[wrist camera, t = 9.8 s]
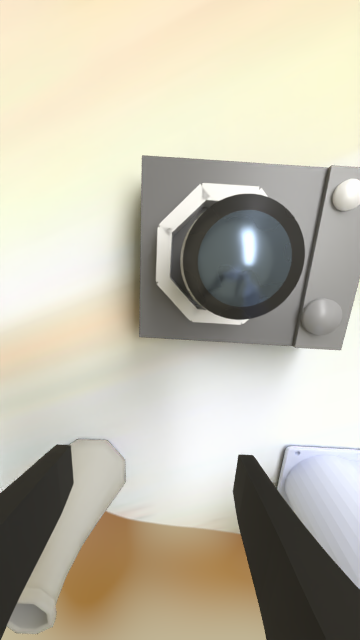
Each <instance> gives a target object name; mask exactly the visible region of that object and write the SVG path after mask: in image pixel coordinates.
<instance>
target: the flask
mask: <svg viewBox="0 0 360 640" xmlns="http://www.w3.org/2000/svg"><path fill="white" fill-rule="evenodd" d="M69 445H71V453H72V466H73V479H74V484H73V487H72V489H71V492H70V494H69V497H68V500H67V502H66V505H65V507H64V510H63V512H62V514H61V516H60V518H59V520H58V522H57V524H56V526H55V528H54V530H53V532H52V534H51V536H50V538H49V540H48V542H47V544H46V546H45V548H44V550H43V552H42V554H41V556H40V558H39V560H38V562H37V564H36V566H35V568H34V570H33V572H32V574H31V576H30V578H29V580H28V582H27V584H26V586H25V588H24V590H23V592H22V594H21V596H20V598H19V600H18V602H17V604H16V606H15V609H14V611H13V613H12V615H11V617H10V619H9V622H8V624H7V627H8V628H10V629H11V630H12V631H14V632H15V633H22V634H38V633H40V632H43V631H45V630H47V629H49V628H51V627H53V625H54V622H55V619H56V602H57V599H58V597H59V594H60V591H61V588H62V586H63V584H64V581H65V578H66V576H67V574H68V572H69V570H70V568H71V566H72V564H73V562H74V560H75V558H76V556H77V554H78V553H79V551H80V549H81V547H82V545H83V543H84V542H85V541H86V539H87V538H88V536H89V534H90V533H91V532H92V530H93V528H94V527H95V526H96V524H97V522H98V521H99V519H100V518H101V517H102V515H103V513H104V512H105V511H106V509H107V508H108V506H109V505H110V504H111V502H112V501H113V500H114V498H115V497H116V495H117V494H118V493H119V491H120V490H121V488H122V487H123V485H124V484H125V482H126V470H125V459H124V458H123V457H122V456H121V455H120V453H119V452H118V451H117V450H116V449H115V448H114V447H113V446H112V445H111V444H110V443H109V442H108V440H90V439H77V440H76V441H74V442H73V443H71V444H69Z"/></svg>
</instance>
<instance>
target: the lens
mask: <svg viewBox="0 0 360 640" xmlns="http://www.w3.org/2000/svg"><path fill="white" fill-rule="evenodd" d="M304 260H305V245H304V238H303V235H302V231H301V229H300V226H299V224H298V222H297V221H296V219H295V217H294V216H293V215H292V214H291V212H290V211H289V210H288V209H287V208H286V207H284V206H283V205H282V204H280V203H279V202H277V201H276V200H274V199H272V198H269V197H267V196H263V195H259V194H238V195H233V196H230V197H227V198H224V199H222V200H220V201H218V202H216V203H215V204H213V205H212V206H210V207H209V208H208V209H207V210H206V211H204V212H203V213H202V214H201V215H200V216H199V217H198V218H197V219H196V220H195V221H194V223H193V224H192V226H191V227H190V229H189V230H188V232H187V234H186V237H185V239H184V242H183V245H182V249H181V257H180V266H181V274H182V277H183V281H184V283H185V286H186V288H187V290H188V291H189V293H190V295H191V296H192V297H193V298H194V300H195V301H196V302H197V303H198V304H199V305H201V306H202V307H203V308H205V309H206V310H208V311H210V312H212V313H213V314H215V315H218V316H220V317H224V318H227V319H234V320H245V319H252V318H256V317H259V316H262V315H264V314H266V313H268V312H270V311H272V310H274V309H275V308H276V307H278V306H279V305H280V304H281V303H283V302H284V301H285V300H286V299H287V297H288V296H289V295H290V294H291V293H292V291H293V290H294V288H295V287H296V285H297V283H298V281H299V279H300V276H301V273H302V270H303V266H304Z"/></svg>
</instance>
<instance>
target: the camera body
mask: <svg viewBox="0 0 360 640" xmlns="http://www.w3.org/2000/svg"><path fill="white" fill-rule="evenodd" d="M238 194H259V195H263V196H267V197H269V198H272V199H274V200H276V201H277V202H279V203H280V204H282V205H283V206H284V207H286V208H287V209H288V210H289V211H290V212H291V214H292V215H293V216H294V217H295V219H296V221H297V222H298V224H299V226H300V229H301V231H302V235H303V238H304V245H305V260H304V266H303V270H302V273H301V276H300V279H299V281H298V283H297V285H296V287H295V288H294V290H293V291H292V293H291V294H290V295H289V296H288V297H287V299H286V300H285V301H284V302H283V303H281V304H280V305H279V306H278V307H276V308H275V309H274V310H272V311H270V312H268V313H266V314H264V315H262V316H259V317H256V318H252V319H245V320H234V319H227V318H224V317H220V316H218V315H215V314H213V313H212V312H210V311H208V310H206V309H205V308H203V307H202V306H201V305H199V304H198V303H197V302H196V301H195V300H194V298H193V297H192V296H191V295H190V293H189V291H188V290H187V288H186V286H185V283H184V281H183V277H182V274H181V266H180V257H181V249H182V245H183V242H184V239H185V237H186V234H187V232H188V230H189V229H190V227H191V226H192V224H193V223H194V221H195V220H196V219H197V218H198V217H199V216H200V215H201V214H202V213H203V212H204V211H206V210H207V209H208V208H209V207H210V206H212V205H213V204H215V203H216V202H218V201H220V200H222V199H224V198H227V197H230V196H233V195H238ZM359 279H360V167H349V166H334V165H332V166H330V167H329V168H326V167H310V166H295V165H280V164H265V163H250V162H234V161H219V160H204V159H189V158H174V157H159V156H143V155H142V186H141V256H140V327H139V337H148V338H165V339H182V340H199V341H216V342H233V343H250V344H267V345H284V346H293V347H295V348H310V349H327V350H341V348H342V344H343V340H344V337H345V333H346V329H347V325H348V321H349V317H350V314H351V310H352V306H353V302H354V298H355V294H356V291H357V287H358V283H359Z"/></svg>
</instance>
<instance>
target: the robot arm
mask: <svg viewBox="0 0 360 640" xmlns="http://www.w3.org/2000/svg"><path fill="white" fill-rule="evenodd" d="M73 484H74V479H73V466H72V453H71V445H56V446H54V447H53V448H52V449H51V450H50V451H49V452H47V453H46V454H45V455H44V456H43V457H42V458H41V459H39V460H38V461H37V462H36V463H35V464H34V465H33V466H32V467H30V468H29V469H28V470H27V471H26V472H25V473H23V474H22V475H21V476H20V477H19V478H18V479H17V480H15V481H14V482H13V483H12V484H11V485H9V486H8V487H7V488H6V489H5V490H4V491H2V492H1V493H0V640H1V638H2V636H3V633H4V631H5V629H6V626H7V624H8V622H9V619H10V617H11V615H12V613H13V611H14V609H15V606H16V604H17V602H18V600H19V598H20V596H21V594H22V592H23V590H24V588H25V586H26V584H27V582H28V580H29V578H30V576H31V574H32V572H33V570H34V568H35V566H36V564H37V562H38V560H39V558H40V556H41V554H42V552H43V550H44V548H45V546H46V544H47V542H48V540H49V538H50V536H51V534H52V532H53V530H54V528H55V526H56V524H57V522H58V520H59V518H60V516H61V514H62V512H63V510H64V507H65V505H66V502H67V500H68V497H69V494H70V492H71V489H72V487H73ZM233 495H234V501H235V508H236V514H237V520H238V524H239V529H240V533H241V536H242V540H243V544H244V548H245V552H246V556H247V560H248V564H249V568H250V572H251V575H252V579H253V584H254V587H255V591H256V595H257V599H258V603H259V607H260V611H261V616H262V620H263V625H264V629H265V634H266V639H267V640H360V450H354V449H336V448H318V447H300V446H289V447H287V448H286V450H285V455H284V460H283V464H282V469H281V473H280V478H279V482H278V487H277V489H276V487H275V486H274V484H273V483H272V482H271V480H270V479H269V477H268V476H267V474H266V473H265V472H264V470H263V469H262V467H261V466H260V464H259V463H258V461H257V460H256V459H255V457H254V456H253V455H239V456H238V462H237V469H236V475H235V482H234V488H233Z"/></svg>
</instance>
